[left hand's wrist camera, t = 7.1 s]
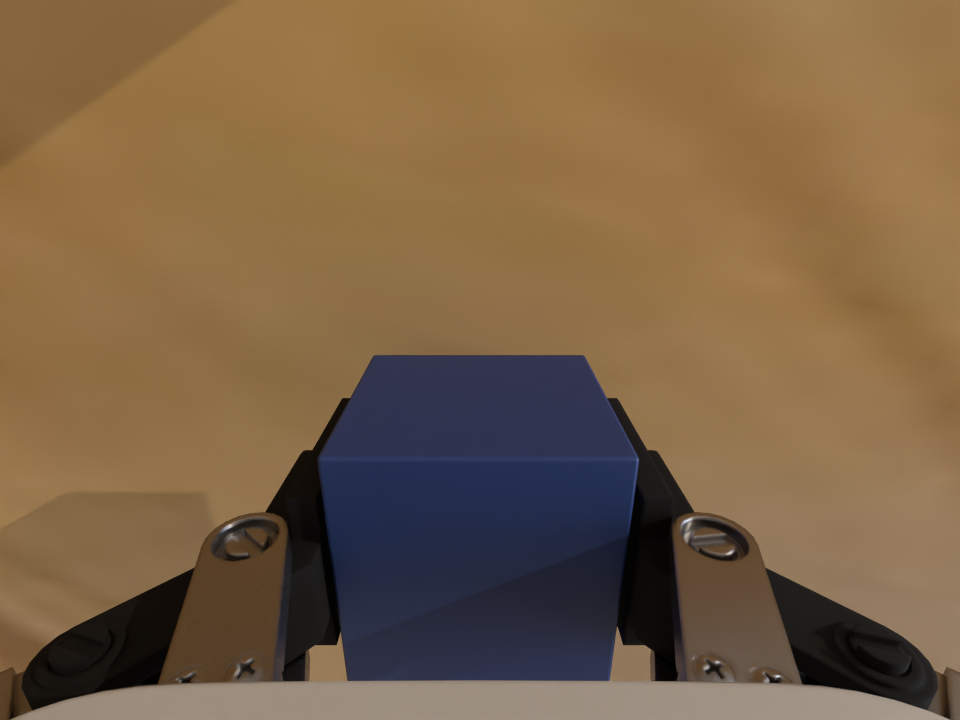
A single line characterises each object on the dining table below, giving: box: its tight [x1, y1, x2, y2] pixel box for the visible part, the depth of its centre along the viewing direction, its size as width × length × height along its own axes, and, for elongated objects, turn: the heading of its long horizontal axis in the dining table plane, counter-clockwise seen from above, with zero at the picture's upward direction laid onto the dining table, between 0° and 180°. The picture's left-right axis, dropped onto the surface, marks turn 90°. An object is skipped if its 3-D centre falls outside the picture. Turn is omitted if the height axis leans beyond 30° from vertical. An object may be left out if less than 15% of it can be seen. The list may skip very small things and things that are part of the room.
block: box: [317, 355, 639, 681], centre depth 11 cm, size 5×5×4 cm
